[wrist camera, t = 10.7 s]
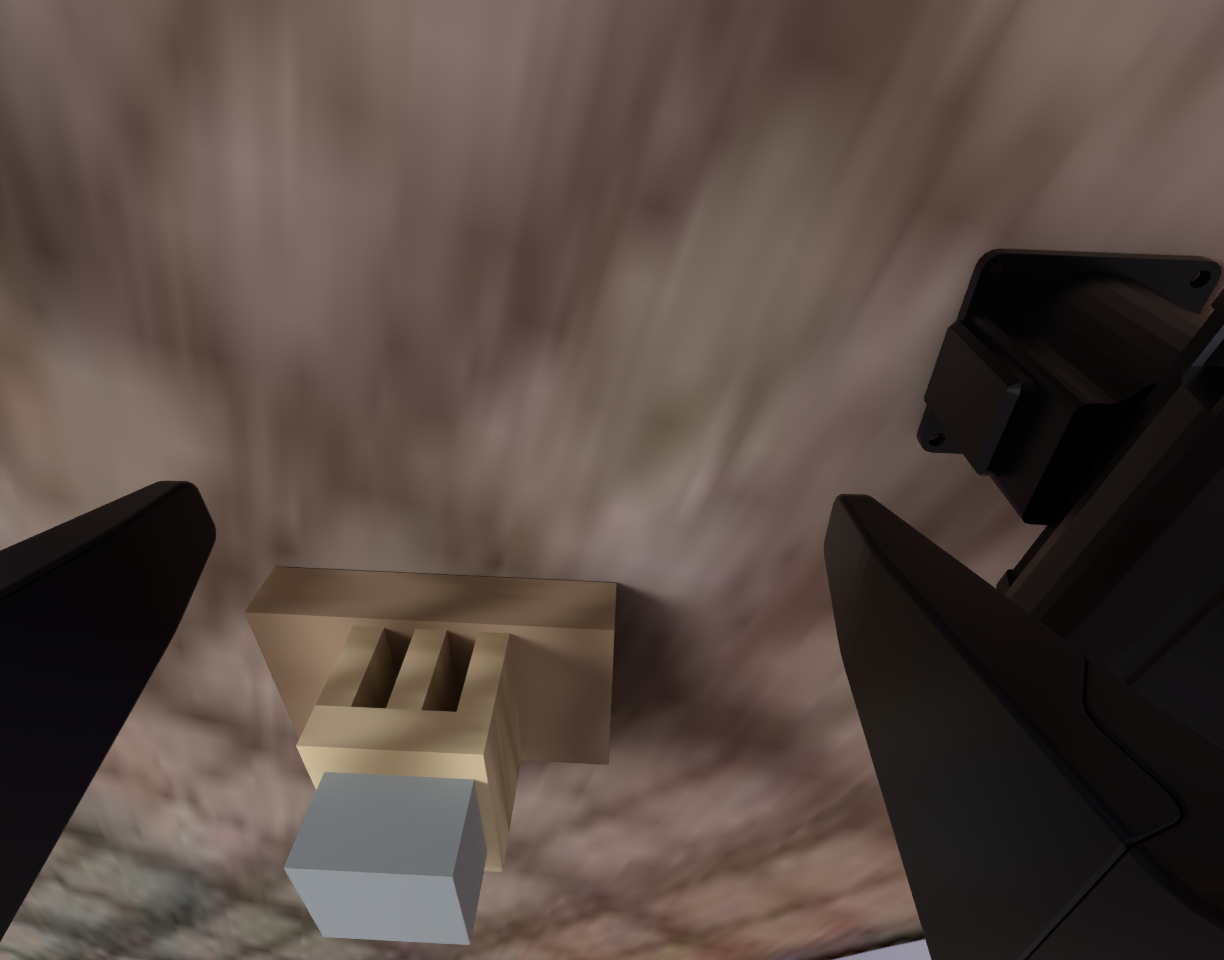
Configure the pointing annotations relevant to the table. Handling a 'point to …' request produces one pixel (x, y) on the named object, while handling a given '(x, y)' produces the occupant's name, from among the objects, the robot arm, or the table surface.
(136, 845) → the table surface
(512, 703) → the block
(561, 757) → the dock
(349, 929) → the block
